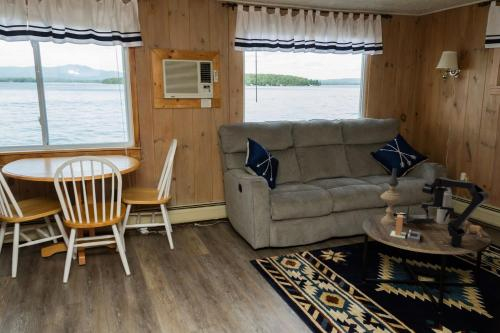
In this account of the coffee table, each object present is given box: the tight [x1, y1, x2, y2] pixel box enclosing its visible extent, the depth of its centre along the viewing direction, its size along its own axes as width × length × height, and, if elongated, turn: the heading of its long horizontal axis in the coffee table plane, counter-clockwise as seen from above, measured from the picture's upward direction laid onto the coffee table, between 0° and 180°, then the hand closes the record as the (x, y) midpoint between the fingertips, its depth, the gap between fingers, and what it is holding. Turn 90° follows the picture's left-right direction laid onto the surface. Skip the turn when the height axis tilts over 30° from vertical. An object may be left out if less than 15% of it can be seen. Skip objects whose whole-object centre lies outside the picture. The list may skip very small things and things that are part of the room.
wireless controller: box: [404, 200, 435, 224], centre depth 278 cm, size 20×14×17 cm
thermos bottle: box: [435, 186, 453, 226], centre depth 274 cm, size 8×8×28 cm
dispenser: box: [406, 229, 421, 243], centre depth 245 cm, size 7×13×3 cm, turn 153°
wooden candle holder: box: [380, 167, 404, 227], centre depth 269 cm, size 15×15×40 cm
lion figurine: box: [463, 219, 485, 238], centre depth 254 cm, size 15×5×9 cm, turn 51°
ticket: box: [394, 214, 404, 236], centre depth 249 cm, size 4×6×12 cm, turn 153°
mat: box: [389, 230, 407, 240], centre depth 250 cm, size 9×10×1 cm
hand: (435, 220), depth 245 cm, fingers open, 9 cm apart
